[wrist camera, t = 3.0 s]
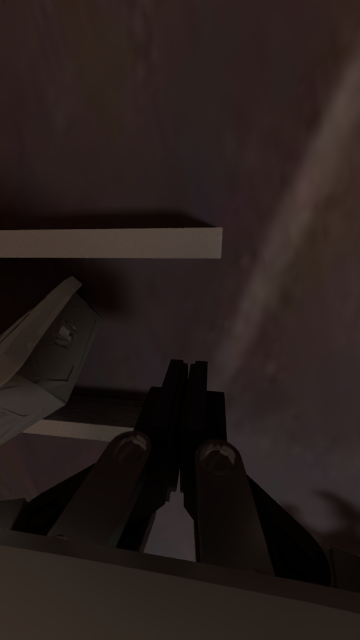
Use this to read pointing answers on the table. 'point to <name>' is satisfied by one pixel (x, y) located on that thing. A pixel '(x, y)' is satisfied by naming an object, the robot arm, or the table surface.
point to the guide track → (94, 412)
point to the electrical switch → (44, 357)
